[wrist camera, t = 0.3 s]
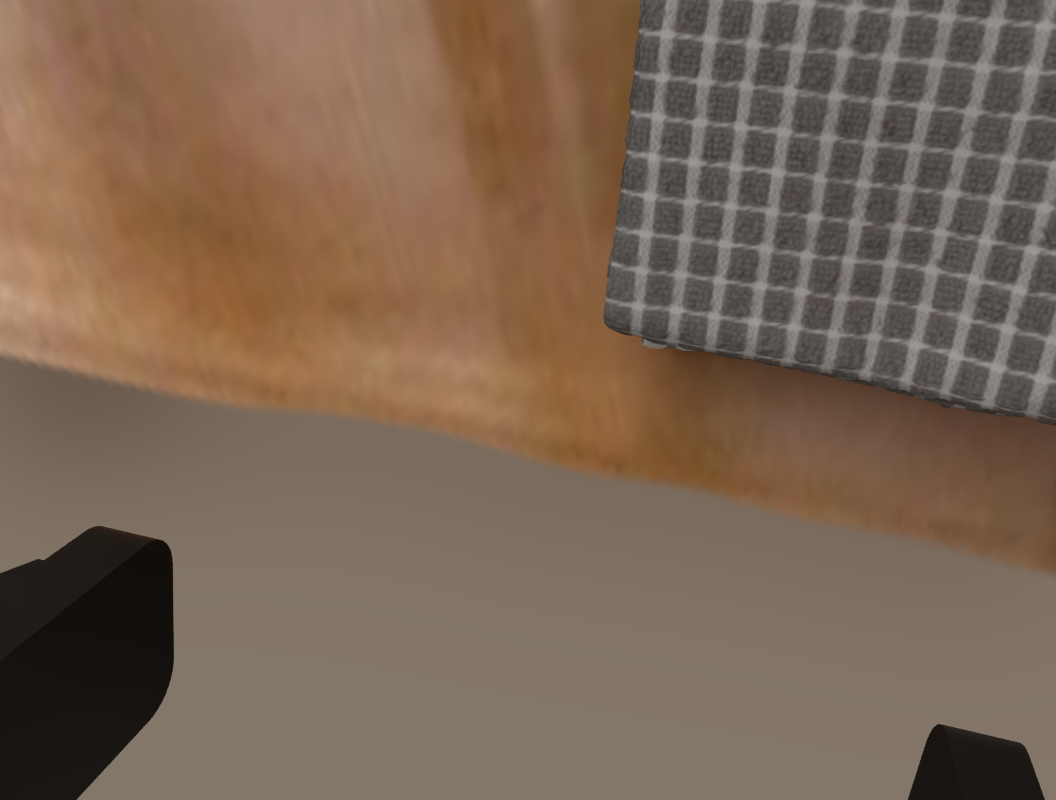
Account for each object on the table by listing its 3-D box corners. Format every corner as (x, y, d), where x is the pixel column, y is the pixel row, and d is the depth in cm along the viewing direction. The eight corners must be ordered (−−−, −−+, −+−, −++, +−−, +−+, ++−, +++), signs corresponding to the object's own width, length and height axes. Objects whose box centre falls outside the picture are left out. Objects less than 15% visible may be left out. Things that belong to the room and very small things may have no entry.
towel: (1231, -223, 28) (1392, -319, 21) (1050, 394, 34) (1125, 485, 27) (687, -251, 31) (661, -345, 24) (611, 326, 37) (573, 392, 30)
